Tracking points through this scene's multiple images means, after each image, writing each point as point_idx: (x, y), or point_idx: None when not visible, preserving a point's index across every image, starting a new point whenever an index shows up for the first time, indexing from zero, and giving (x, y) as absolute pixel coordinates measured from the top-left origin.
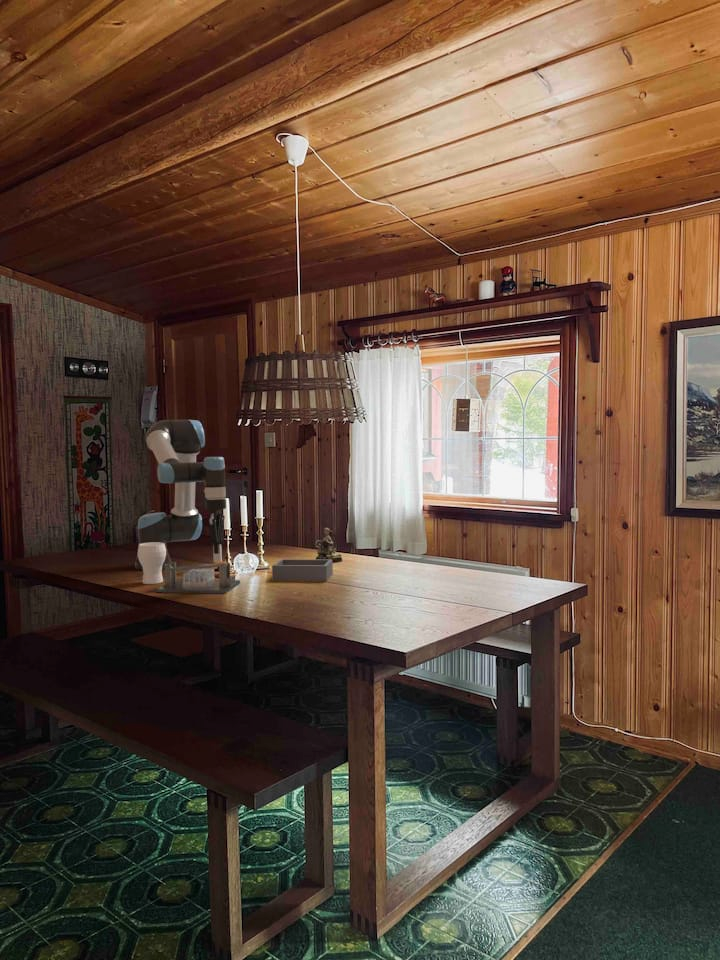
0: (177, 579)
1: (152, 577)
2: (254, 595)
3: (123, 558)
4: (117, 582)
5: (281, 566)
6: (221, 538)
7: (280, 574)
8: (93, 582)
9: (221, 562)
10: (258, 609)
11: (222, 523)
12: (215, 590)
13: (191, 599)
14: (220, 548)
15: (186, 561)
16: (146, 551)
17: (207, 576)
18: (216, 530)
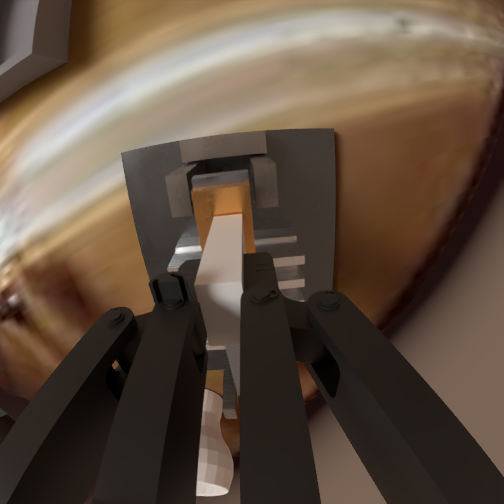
0: None
1: (217, 409)
2: (337, 18)
3: None
4: (222, 437)
5: (37, 21)
6: (153, 334)
7: (56, 31)
8: (232, 454)
9: (235, 210)
10: (470, 16)
11: (18, 491)
12: (334, 171)
13: (413, 219)
14: (231, 260)
15: (18, 384)
16: (231, 476)
17: (270, 250)
18: (422, 435)
